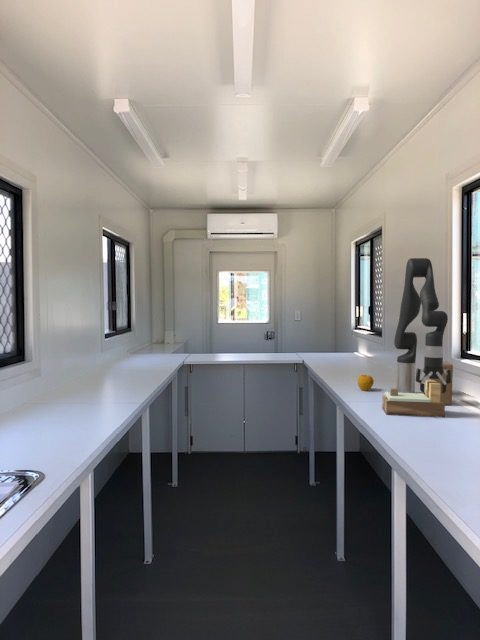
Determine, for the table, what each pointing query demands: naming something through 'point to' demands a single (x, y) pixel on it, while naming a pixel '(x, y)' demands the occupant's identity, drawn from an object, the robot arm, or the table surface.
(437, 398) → the key
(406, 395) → the lid
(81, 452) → the table surface
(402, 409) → the wooden box
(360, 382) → the apple
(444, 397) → the wooden block
